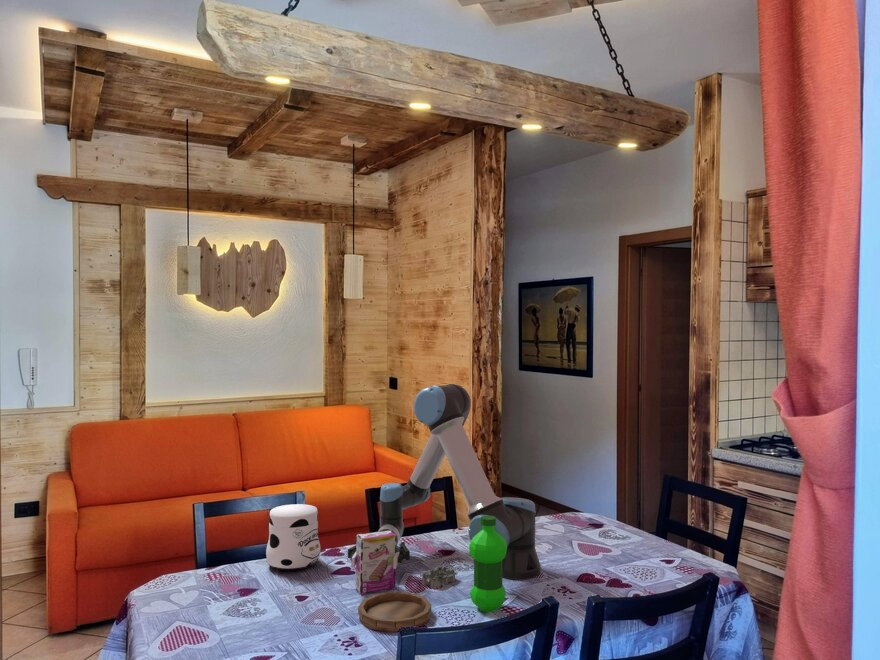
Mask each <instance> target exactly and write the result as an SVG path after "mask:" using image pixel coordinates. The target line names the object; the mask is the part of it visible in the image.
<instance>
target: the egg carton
mask: <svg viewBox="0 0 880 660" xmlns="http://www.w3.org/2000/svg"><path fill="white" fill-rule="evenodd" d="M458 572H459V571H455V570H454V569H452V568H451V567H448V566H445V565H444V564H440V565H439V566H437V567H432V568H431V569H429V570H426V571H424V570H423V571H422V572H420V575H419V577H421V578H422V579H421V585H422V586H429V587H431V589H440V588H441V586H447V585H448V584H449V583H455V582H456V576H458V575H457V574H458Z"/></svg>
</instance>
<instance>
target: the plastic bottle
mask: <svg viewBox="0 0 880 660" xmlns="http://www.w3.org/2000/svg"><path fill="white" fill-rule="evenodd" d="M481 525H483V530H481V531H480V532H479V533H478V534H476V535H475V536H474V537H473V538H472V540H470V543H469V546H468V547H469V553H470V555H469V556H471V557H472V558H473V586H472V588H471V591H470V594H469V595H470V597H469V598H470V600H471V602H472V603H473V604H474V605H475V606H476V607H477V608H478V609H479V610H480V611H481V612H485V613H491V612H493V613H494V612H495V611H497V610H498V609H499V608H500V607H502V605H503V604H504V602H505V599H506V596H507V595H506V594H507V593H506V592H507V591H506V589H505V587H504V585H503V577H502V560H503V559H504V558H505V556H506V552H507V543H506V540H505V539H504V538H503V537H502V536H501V535H500V534H499V533H497V532H496V531H495V530H494V526H495V525H496V517H494V516H482V517H481Z"/></svg>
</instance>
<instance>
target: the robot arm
mask: <svg viewBox="0 0 880 660" xmlns="http://www.w3.org/2000/svg"><path fill="white" fill-rule="evenodd" d="M471 407H472V399H471V397H470V394H469V392H468V391H467V390H466V389H465V388H464V387H463V386H461V385H459V384H456V383H450V384H449V383H448V384H444V385H431V386H428V387H425V388H423V389H421V390H420V391H419V392H418V393H417V394H416V397H415V400H414V403H413V411H414V416H415V418H416V419H417V421H419V423H422V425H423V424H424V425H425V426H427V428H428V430H429V432H430V437H429V438H428V440H427V442H426V445H425V446H424V448H423V451H422V453H421V454H420V457H419V459H418V461H417V463H416V465H415V467H414V469H413V471H412V474H411V475H410V477H409V479H408V481H407V483H406V484H405V485H402V484H401V483H398V482H390V483H384V484H382V485H381V486H380V496H379V504H380V506H379V508H380V509H379V512H380V513H379V514H380V515H379V516H380V518H379V529H378V531H377V532H382V531H392V532H393V533H395V534H396V555H395V557H394V559H393V569H397V567H398V566H399V564H400V563H401V564H402V563H403V561H404V560H406V561H410V560H411V559H410V557H411V553H410V550H409V549H408V547H407V546H406V542H404V541H402V542H400V543H399V541H400V539H401V538H402V536H403V534H404V532H405V531H404V530H405V524H404V522H403V510H406V509H409V508H411V507H415V506H417V505H421V504H423V503H425V502H427V501H428V500H429V498H430V497H431V488H430V487H431V484H432V482H433V481H434V478H435V477H436V474H437V472H438V471H439V469H440V466H441V464H442V462H443V460H444V458H445V456H446V458H447V460H448V463H449V465H450V466H451V469H452V471H453V474H454V475H455V478H456V480H457V482H458V485H459V487H460V489H461V492H462V493H463V496H464V498H465V500H466V503H467V505H468V507H469V509H468V511H467V517H468V519H469V521H470V522H469V524H468V529H467V530H468V536H469V540H470V541H471V540H472V538H473V537H474V536H475V535H476V534H478V533H479V532H480V531H481V530H483V525H481V517H482V516H494V517H496V525H495V526H494V530H495V531H496V532H497V533H499V534H500V535H501V536H502V537H503V538H504V539H505V540H506V543H507V552H506V556H505V558H504V559H503V560H502V578H504V579H511V580H530V579H533V578H537V577H538V576H540V575H541V568H542V566H541V563H540V559H539V556H538V552H537V549H536V504H535V502H534V501H532V500H530V499H528V498H523V497H522V498H521V497H509V496H508V497H507V496H505V497H499V496H497V495H496V494H495V492H494V490H493V488H492V486H491V484H490V482H489V479H488V478H487V476H486V474H485V472H484V469H483V467H482V465H481V463H480V460H479V457H478V456H477V454H476V452H475V449H474V447H473V445H472V443H471V440H470V439H469V436H468V435H467V432H466V430H465V428H464V425H465V424H466V422H467V419H468V417H469V415H470V412H471ZM347 558H349V559H350V561H351V568H356V544H355V545H353V546H352V547H350V548H348V549H347Z"/></svg>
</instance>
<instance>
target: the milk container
mask: <svg viewBox="0 0 880 660" xmlns="http://www.w3.org/2000/svg"><path fill="white" fill-rule="evenodd" d="M268 517H269V518H268V520H269V524H268V532H269V533H268V534H269V535H268V541H267V544H266V550H265V555H266V561H267V563H268V565H269V566H270V567H271V568H273V569H276V570H279V571H298V570H304V569H307V568H311V567H312V566H315V564H317V563H318V562H319V559H320V556H321V543H320V540H319V532H318V531H319V530H318V528H319V513H318V508H317V506H314V505H312V504H302V503H296V504H284V505H280V506H279V505H278V506H275V507H273V508H271V510H270V511H269V516H268Z"/></svg>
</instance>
